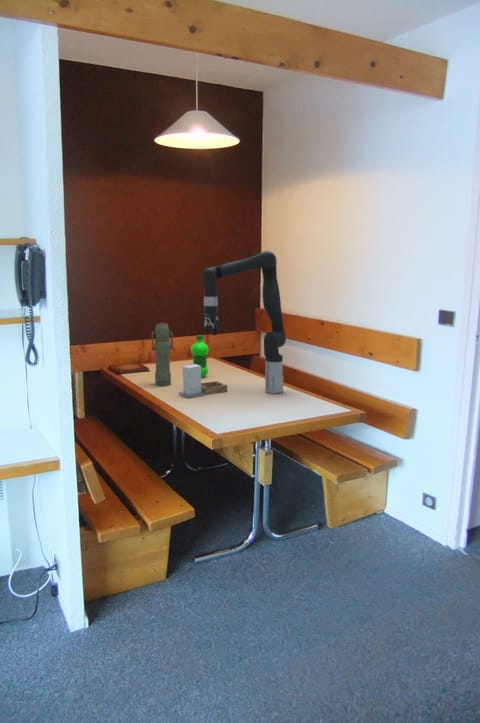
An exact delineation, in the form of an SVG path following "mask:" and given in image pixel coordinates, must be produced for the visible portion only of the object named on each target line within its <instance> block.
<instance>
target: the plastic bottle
mask: <svg viewBox="0 0 480 723" xmlns="http://www.w3.org/2000/svg"><path fill="white" fill-rule="evenodd" d="M195 339H196V342H195V343H194V344H192V345H191V347H190V351H191V352H190V353H191V354H192V355H193V360H192V362H193V364H196V365H199V366H201V379H202V378H205V377H206V376H207V375H208V373H209V368H208V366H207V363H208V362H207V355H208V354H209V350H210V349H209V348H210V347H209V346H208V345H207V343H205V342H204V341H203V340H204V335H201V334H198V335H196V336H195ZM193 364H192V365H193Z"/></svg>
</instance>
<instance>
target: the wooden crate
mask: <svg viewBox="0 0 480 723" xmlns="http://www.w3.org/2000/svg"><path fill="white" fill-rule="evenodd" d="M201 392H202V393H204V394H205V396H206V395H213V394H218V393H219V394H220V393H228V385H227V384H225V383H223V382H220V381H218V380H216V381H215V380H213V381H207V382H206V381H205V382H201Z"/></svg>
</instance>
